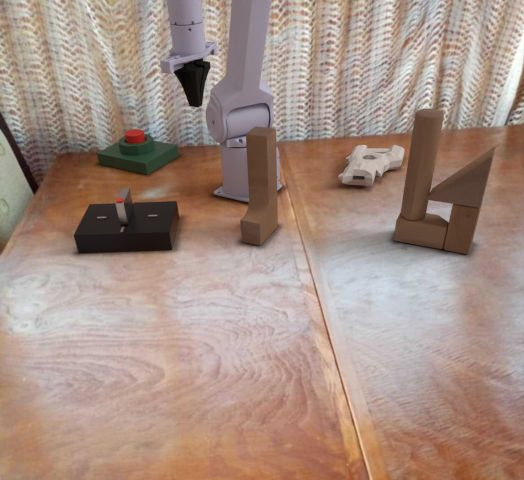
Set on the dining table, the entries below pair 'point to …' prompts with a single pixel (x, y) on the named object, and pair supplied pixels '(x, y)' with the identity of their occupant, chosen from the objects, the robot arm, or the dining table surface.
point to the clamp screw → (124, 206)
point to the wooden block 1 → (261, 186)
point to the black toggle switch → (128, 228)
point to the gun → (370, 164)
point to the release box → (138, 155)
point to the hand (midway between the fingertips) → (195, 105)
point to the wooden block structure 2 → (440, 192)
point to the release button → (135, 136)
